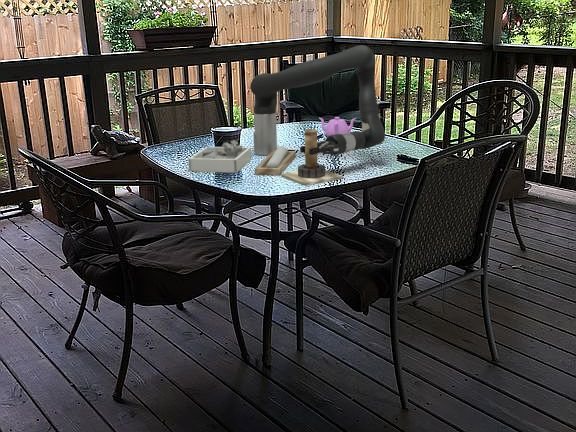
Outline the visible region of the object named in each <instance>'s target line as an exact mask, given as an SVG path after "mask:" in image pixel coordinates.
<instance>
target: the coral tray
mask: <svg viewBox="0 0 576 432" xmlns="http://www.w3.org/2000/svg"><path fill="white" fill-rule="evenodd" d="M209 149H219V150H221V151H222V153H225V154H226V152H225V151H224V149H225V148H224V147H222V146H205V147H204V148H202V149H200V150H199V151H197V152H196V153H195V154H193V155H192V156H190V157H188V158H187V159H188V161H187V162H188V163H187V164H188V172H189V171H197V172H196V173H226V174H227V173H233V174H237V173H238V172H240V170H242V169H243V168H244V167H245V166H246V165H247V164H248V163H249V162H250V161H251V160H252V147H244V146H242V151H241V152H239V153H238V157H236V158H235V159H201V157H202V154H203V152H204V151H205V150H209Z"/></svg>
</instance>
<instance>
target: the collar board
mask: <svg viewBox="0 0 576 432" xmlns="http://www.w3.org/2000/svg"><path fill="white" fill-rule="evenodd" d="M280 177H281V178H285V179H287V180H289V181H292V182H294V183H298V184H301V185H302V186H312V185H318V184H321V183H327V182H332V181H335V180H336V181H337V179H338V180H343V175H342V174H338V173H335V172H332V171H329V170H326V166H325V165H324V164H321V163H318V168H315V169H306V168H305V163H303V164H300V165H298V166H297V170H295V171H291V172H285V173H284V172H283V173H282V174H281V175H280Z"/></svg>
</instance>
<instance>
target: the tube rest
mask: <svg viewBox="0 0 576 432" xmlns="http://www.w3.org/2000/svg"><path fill="white" fill-rule="evenodd" d="M274 153H275V151H272V152H271V153H270V154H269V155H266V157H265V158H264V159H263V160H262V161H261V162H260V163H258V165H257V166H255V168H254V175H255V176H281V174H284V172H285V170H286V169H287V168H288V166H289V165H291V163H292V162H293V161H294V160H295V158H296V157H297V155H296V153H297V151H296V150H288V155H287V156H286V158H285V159H284V160H283V161H282V163H281V164H280V165H279V166H278V167H277V168H266V164H267V163H268V161H269V160H270V159H271V157H272V156H273V154H274Z"/></svg>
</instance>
